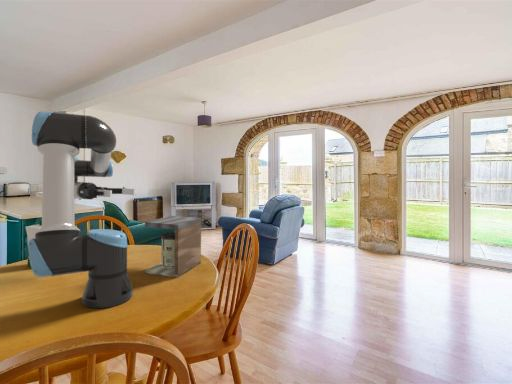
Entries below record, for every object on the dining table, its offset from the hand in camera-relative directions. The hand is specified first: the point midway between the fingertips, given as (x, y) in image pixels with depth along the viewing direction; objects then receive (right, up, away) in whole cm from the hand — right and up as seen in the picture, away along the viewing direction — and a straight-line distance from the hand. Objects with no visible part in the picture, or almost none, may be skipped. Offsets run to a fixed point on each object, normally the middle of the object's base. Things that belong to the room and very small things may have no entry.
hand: (123, 192), depth 121 cm
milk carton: (-40, -33, +6) cm, 52 cm away
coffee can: (+19, -33, +8) cm, 39 cm away
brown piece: (+20, -34, +7) cm, 40 cm away
